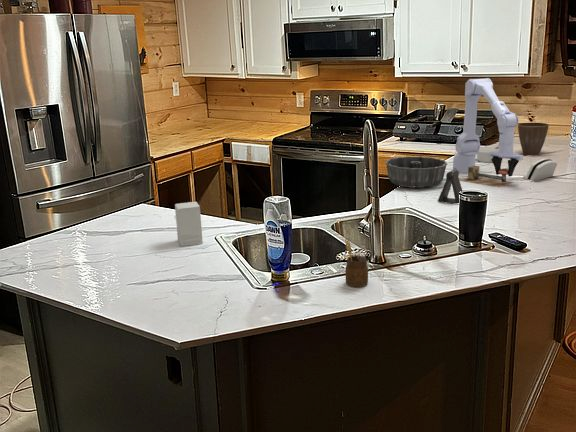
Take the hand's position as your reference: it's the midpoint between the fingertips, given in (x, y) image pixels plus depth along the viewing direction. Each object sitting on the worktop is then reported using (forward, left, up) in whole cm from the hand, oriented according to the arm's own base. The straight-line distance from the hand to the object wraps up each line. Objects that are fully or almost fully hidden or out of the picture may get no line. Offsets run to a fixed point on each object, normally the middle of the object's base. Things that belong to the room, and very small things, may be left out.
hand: (504, 175), depth 258 cm
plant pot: (-24, +71, -5) cm, 75 cm away
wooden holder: (-14, 0, -4) cm, 15 cm away
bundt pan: (-30, -20, -5) cm, 37 cm away
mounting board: (-8, 0, -5) cm, 10 cm away
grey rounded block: (+5, +23, -5) cm, 24 cm away
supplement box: (-36, -133, -5) cm, 138 cm away
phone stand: (-2, -35, -5) cm, 35 cm away
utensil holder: (+27, -122, -5) cm, 125 cm away
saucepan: (-33, +47, -5) cm, 58 cm away
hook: (-5, 0, -3) cm, 6 cm away
